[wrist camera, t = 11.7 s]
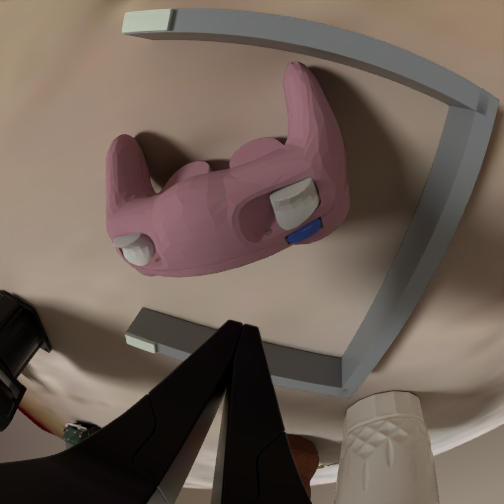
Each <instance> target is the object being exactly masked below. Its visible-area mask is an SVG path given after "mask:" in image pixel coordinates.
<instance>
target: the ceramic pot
mask: <svg viewBox="0 0 504 504" xmlns="http://www.w3.org/2000/svg"><path fill="white" fill-rule="evenodd" d="M286 435H287V439H288V442H289V446H290V449H291V452H292V456H293V459H294V462H295V465H296V467H297V470H298V472H299V475H300V477H301V480H302V482H303V484H304V487H305V489H306V491H307V493H308V495H309V498H311V488H310V480H311V478H312V477H313V475H314V474H315V472H316V470H317V469H320V468H324V467H325V466H324V465H321V466H318V465H319V457H318V452H317V450H316V448H315V445H314V444H313V443H312V442H311V441H309V440H307V439H305V438H302V437H299V436H296V435H290V434H286ZM338 463H339V462H338ZM334 464H337V463H334ZM330 465H333V464H330ZM327 466H329V465H327Z"/></svg>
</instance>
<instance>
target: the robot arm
mask: <svg viewBox="0 0 504 504" xmlns="http://www.w3.org/2000/svg"><path fill="white" fill-rule="evenodd" d="M39 348H41V349H43V350H45V351H46V352H48V353H50V351H51V350H52V349H51V347H50V345H49V342H48V340H47V338H46V336H45V333H44V331H43V328H42V326H41V324H40V321H39V319H38V316H37V313H36V312H35V310H34V309H33V308H31V307H29V306H27V305H26V304H24V303H22V302H20V301H19V300H17V299H15V298H13V297H12V296H10V295H8V294H7V293H5V292H3V291H2V290H0V378H1V379H2V380H1V379H0V432H1V431H3V430H4V429H6V428H7V426H8V425H9V424H10V422H11V421H12V419H13V417H14V415H15V412H16V410H17V408H18V406H19V404H20V402H21V400H22V398H23V396H24V393H25V391H26V389H27V388H26V387H25V386H24V385H22V384H21V383H20V382H19V381H18V380H17V378H18V376H19V375H20V373H21V372H22V371H23V369H24V368H25V367H26V365H27V364H28V363H29V361H30V360H31V359H32V357H33V356H34V355H35V353H36V352H37V351H38V349H39ZM226 388H227V389H226ZM225 391H226V393H225ZM148 394H149V395H148ZM148 394H146V395H145V396H144V397H143V398H142V399H140V400H139V401H138V402H137V403H136V404H135V405H133V406H132V407H131V408H130V409H128V410H127V411H126V412H125V413H123V414H122V415H121V416H119V417H118V418H116V419H115V420H113V421H112V422H110V423H109V424H108V425H106V426H104V427H103V428H101V429H100V430H98V431H96V432H95V433H93V434H92V435H90V436H88V437H87V438H85V439H83V440H82V441H80V442H78V443H77V444H75V445H73V446H72V447H70V448H68V449H66V450H64V451H62V452H60V453H58V454H55V455H51V456H48V457H42V458H37V459H30V460H23V461H15V462H6V463H0V504H174V503H175V501H176V499H177V497H178V495H179V493H180V491H181V489H182V487H183V485H184V482H185V480H186V478H187V476H188V474H189V472H190V470H191V468H192V465H193V463H194V461H195V459H196V457H197V455H198V452H199V450H200V448H201V446H202V444H203V442H204V439H205V437H206V435H207V433H208V431H209V428H210V426H211V424H212V422H213V419H214V417H215V415H216V413H217V410H218V408H219V406H220V404H221V401H222V399H223V396H224V394H225V399H224V406H223V413H222V420H221V428H220V435H219V443H218V450H217V458H216V465H215V473H214V481H213V488H212V496H211V504H312V502H311V500H310V498H309V495H308V493H307V491H306V489H305V487H304V484H303V482H302V480H301V477H300V475H299V472H298V470H297V467H296V465H295V462H294V459H293V456H292V452H291V449H290V446H289V442H288V439H287V435H286V432H284V431H285V428H284V424H283V420H282V417H281V413H280V409H279V405H278V401H277V398H276V394H275V390H274V386H273V382H272V378H271V375H270V371H269V367H268V363H267V359H266V355H265V351H264V347H263V343H262V339H261V336H260V332H259V328H258V327H257V326H253V325H249V324H244V325H243V324H242V323H241V322H238V321H234V320H228V321H227V322H226V323H224V324H223V325H222V326H221V327H220V328H219V329H218V330H217V331H216V332H215V333H214V334H213V335H212V336H211V337H209V338H208V339H207V340H206V341H205V342H204V343H203V344H202V345H201V346H200V347H199V348H198V349H196V350H195V351H194V352H193V353H192V354H191V355H190V356H189V357H188V358H187V359H185V360H184V361H183V362H182V363H181V364H180V365H179V366H178V367H177V368H176V369H174V370H173V371H172V372H171V373H170V374H169V375H168V376H167V377H166V378H164V379H163V380H162V381H161V382H160V383H159V384H158V385H157V386H155V387H154V388H153V389H152V390H151V391H150V392H149V393H148Z"/></svg>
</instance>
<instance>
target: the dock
mask: <svg viewBox="0 0 504 504" xmlns="http://www.w3.org/2000/svg"><path fill="white" fill-rule="evenodd" d="M122 33H124V34H125V35H130V36H136V37H141V38H146V39H150V40H200V41H216V42H227V43H237V44H246V45H253V46H261V47H267V48H273V49H279V50H285V51H290V52H295V53H300V54H304V55H309V56H313V57H317V58H321V59H325V60H329V61H333V62H337V63H340V64H344V65H347V66H351V67H354V68H357V69H361V70H364V71H367V72H370V73H373V74H376V75H379V76H382V77H384V78H387V79H390V80H392V81H395V82H398V83H400V84H403V85H405V86H408V87H410V88H413V89H415V90H417V91H420V92H422V93H424V94H427V95H429V96H431V97H433V98H435V99H437V100H440V101H442V102H444V103H446V104H448V105H450V107H449V111H448V115H447V119H446V123H445V126H444V130H443V133H442V137H441V140H440V143H439V147H438V150H437V153H436V156H435V159H434V162H433V165H432V168H431V171H430V174H429V177H428V180H427V183H426V185H425V188H424V191H423V194H422V196H421V199H420V201H419V204H418V207H417V209H416V212H415V214H414V217H413V219H412V221H411V224H410V226H409V229H408V231H407V233H406V236H405V238H404V240H403V242H402V245H401V247H400V249H399V251H398V254H397V256H396V258H395V260H394V262H393V264H392V266H391V268H390V271H389V273H388V275H387V277H386V279H385V281H384V283H383V285H382V287H381V289H380V291H379V293H378V295H377V296H376V298H375V300H374V302H373V304H372V306H371V308H370V310H369V311H368V313H367V315H366V317H365V319H364V321H363V322H362V324H361V326H360V328H359V329H358V331H357V333H356V335H355V336H354V338H353V340H352V341H351V343H350V345H349V347H348V348H347V350H346V351H345V353H344V355H343V356H342V358H335V357H330V356H325V355H320V354H315V353H310V352H305V351H300V350H295V349H291V348H286V347H282V346H278V345H273V344H269V343H265V342H262V343H263V347H264V351H265V355H266V359H267V363H268V367H269V371H270V375H271V378H272V382H273V385H276V386H280V387H285V388H290V389H295V390H301V391H306V392H312V393H318V394H324V395H330V396H337V397H343V398H351V397H352V395H353V394H354V393H355V392H356V391H357V389H358V388H359V387H360V386H361V384H362V383H363V382H364V380H365V379H366V378H367V377H368V375H369V374H370V373H371V371H372V370H373V369H374V367H375V366H376V365H377V363H378V362H379V360H380V359H381V358H382V356H383V355H384V354H385V352H386V351H387V349H388V348H389V346H390V345H391V344H392V342H393V341H394V339H395V338H396V336H397V335H398V333H399V332H400V330H401V329H402V327H403V326H404V324H405V322H406V321H407V319H408V318H409V316H410V314H411V313H412V311H413V310H414V308H415V306H416V305H417V303H418V301H419V300H420V298H421V296H422V295H423V293H424V291H425V289H426V288H427V286H428V284H429V282H430V280H431V279H432V277H433V275H434V273H435V271H436V269H437V267H438V266H439V264H440V262H441V260H442V258H443V256H444V254H445V252H446V250H447V248H448V246H449V244H450V242H451V239H452V237H453V235H454V233H455V231H456V229H457V226H458V224H459V222H460V220H461V217H462V215H463V213H464V210H465V208H466V205H467V203H468V201H469V198H470V196H471V193H472V190H473V188H474V185H475V182H476V180H477V177H478V174H479V171H480V168H481V165H482V162H483V159H484V156H485V153H486V150H487V146H488V143H489V140H490V136H491V132H492V129H493V125H494V121H495V117H496V113H497V109H498V104H499V99H498V98H496V97H495V96H493V95H492V94H490V93H489V92H487V91H485V90H484V89H482V88H480V87H479V86H477V85H475V84H474V83H472V82H470V81H469V80H467V79H465V78H463V77H461V76H460V75H458V74H456V73H454V72H452V71H450V70H448V69H446V68H444V67H442V66H440V65H438V64H436V63H434V62H432V61H430V60H427V59H425V58H423V57H421V56H419V55H416V54H414V53H412V52H409V51H407V50H404V49H402V48H399V47H397V46H394V45H391V44H389V43H386V42H383V41H380V40H377V39H375V38H372V37H369V36H365V35H362V34H359V33H356V32H352V31H349V30H345V29H342V28H338V27H334V26H330V25H326V24H322V23H318V22H313V21H308V20H304V19H298V18H293V17H287V16H281V15H275V14H267V13H260V12H251V11H240V10H226V9H159V10H146V11H135V12H127V13H125V17H124V22H123V27H122ZM216 331H217V330H215V329H211V328H207V327H204V326H200V325H197V324H194V323H190V322H187V321H184V320H180V319H177V318H174V317H171V316H167V315H164V314H161V313H158V312H155V311H152V310H149V309H146V308H142V309H141V310H140V312H139V313H138V315H137V316H136V318H135V320H134V321H133V323H132V324H131V326H130V327H129V329H128V330H127V332H126V334H125V337H126V342H127V344H129V345H132V346H134V347H137V348H140V349H143V350H145V351H148V352H151V353H154V354H155V353H156V352H157V353H160V354H163V355H166V356H169V357H172V358H175V359H178V360H181V361H184V360H185V359H187V358H188V357H189V356H190V355H191V354H192V353H193V352H194V351H195V350H196V349H198V348H199V347H200V346H201V345H202V344H203V343H204V342H205V341H206V340H207V339H208V338H209V337H211V336H212V335H213V334H214V333H215V332H216Z"/></svg>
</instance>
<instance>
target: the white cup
mask: <svg viewBox="0 0 504 504" xmlns="http://www.w3.org/2000/svg"><path fill="white" fill-rule="evenodd" d="M334 504H439V494H438V486H437V478H436V471H435V465H434V457H433V453H432V450H431V442H430V438H429V435H428V429H427V426H426V425H425V421H424V418H423V414H422V409H421V405H420V400H419V398H418V397H417V396H415V395H413V394H411V393H409V392H399V391H391V392H385V393H379V394H374V395H372V396H369V397H367V398H364V399H362V400H359V401H357V402H356V403H355V404H354V405H352V406H351V407H350V408H348V409H347V412H346V415H345V418H344V431H343V440H342V444H341V453H340V461H339V469H338V476H337V485H336V493H335V501H334Z"/></svg>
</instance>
